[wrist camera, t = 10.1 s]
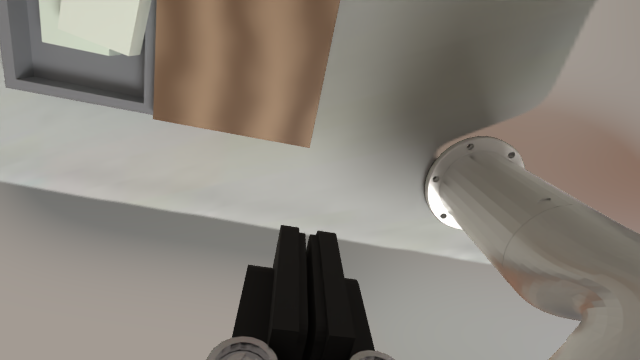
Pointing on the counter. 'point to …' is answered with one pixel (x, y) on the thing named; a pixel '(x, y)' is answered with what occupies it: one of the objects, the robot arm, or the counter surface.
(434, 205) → the robot arm
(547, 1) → the counter surface
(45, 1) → the tile rear
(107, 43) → the tile front
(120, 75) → the box
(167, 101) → the tan square panel
